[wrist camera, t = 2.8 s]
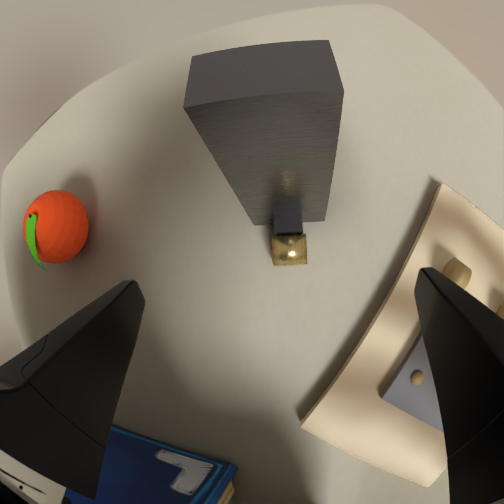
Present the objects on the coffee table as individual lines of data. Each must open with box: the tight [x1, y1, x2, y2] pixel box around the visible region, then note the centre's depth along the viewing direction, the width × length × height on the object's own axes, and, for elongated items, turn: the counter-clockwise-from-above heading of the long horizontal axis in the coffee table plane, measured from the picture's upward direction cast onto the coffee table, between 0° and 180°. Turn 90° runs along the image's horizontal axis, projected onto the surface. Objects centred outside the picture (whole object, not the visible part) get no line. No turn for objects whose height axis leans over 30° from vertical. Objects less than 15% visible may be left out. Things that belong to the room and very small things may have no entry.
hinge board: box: [300, 183, 504, 487], centre depth 17 cm, size 22×14×3 cm, turn 146°
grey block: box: [184, 40, 344, 266], centre depth 16 cm, size 6×6×14 cm
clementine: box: [24, 190, 89, 272], centre depth 23 cm, size 8×7×7 cm
